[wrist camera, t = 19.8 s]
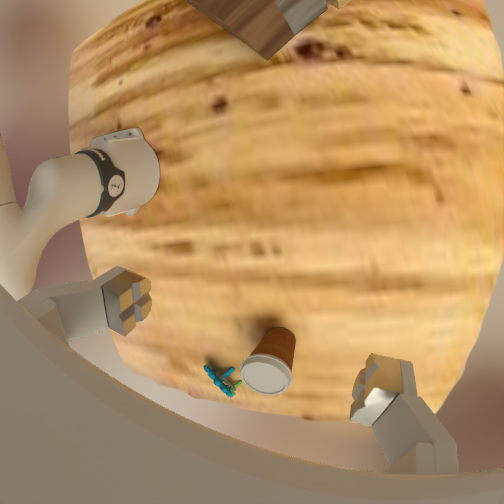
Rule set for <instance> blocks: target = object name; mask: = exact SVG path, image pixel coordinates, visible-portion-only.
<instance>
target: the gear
mask: <svg viewBox="0 0 504 504" xmlns="http://www.w3.org/2000/svg"><path fill="white" fill-rule="evenodd" d="M203 367H204V370H205V371H206V372H207V373H208V376H209V377H210V378H211V379H213V380H214V384H215V385H217V386H219V387H220V389H221V390H222V391H223V392H224V393H226V395H227V396H228V397H229V396H230V397H233V396H234V395H235V392H234V391H235V390H236V387H237V386H238V385H240V384H241V383H242V381H241V380H240V381H239V382H238V383H236V384H235V385H234V386H233V385H232V384H231V383H230V382H229V381H228V380H227V379H226V377H227V376H228V375H230V374H231V373H232V372H233V371H235V370H234V369H233V367H232V368H230V369H229V370H228V371H227V372H225V373H224V374H223V375H222V374H221V375H220V376H217V375H216V374H215V372H214V371H213V370H211V369H210V367H209V366H207V365H204V366H203ZM224 380H225V381H226V382H227V383H228V384H229V385H230V387H229V386H228V385H225V384H224V383H223V381H224Z"/></svg>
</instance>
